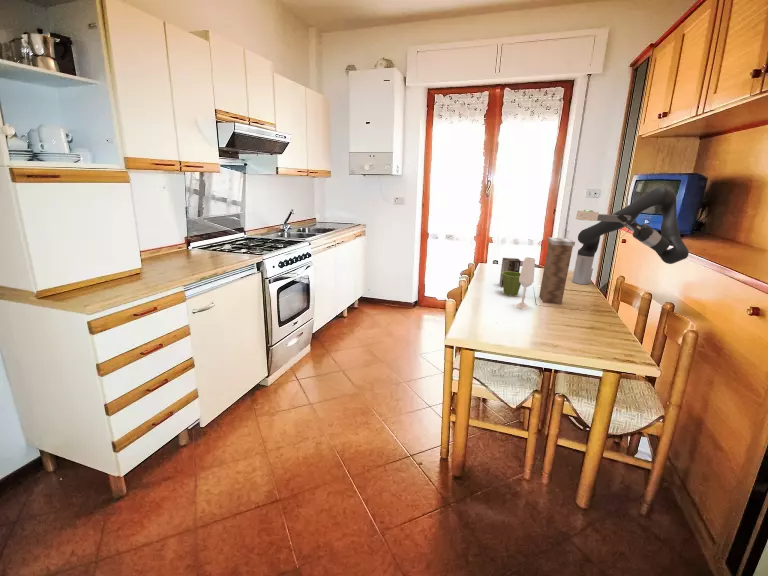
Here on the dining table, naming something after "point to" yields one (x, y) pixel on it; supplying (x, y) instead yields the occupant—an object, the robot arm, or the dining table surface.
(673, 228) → the robot arm
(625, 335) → the dining table surface
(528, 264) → the champagne flute
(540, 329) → the dining table surface
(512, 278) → the plant pot
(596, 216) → the block
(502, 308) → the dining table surface
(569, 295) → the dining table surface
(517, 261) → the coffee box
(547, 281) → the anvil stand
